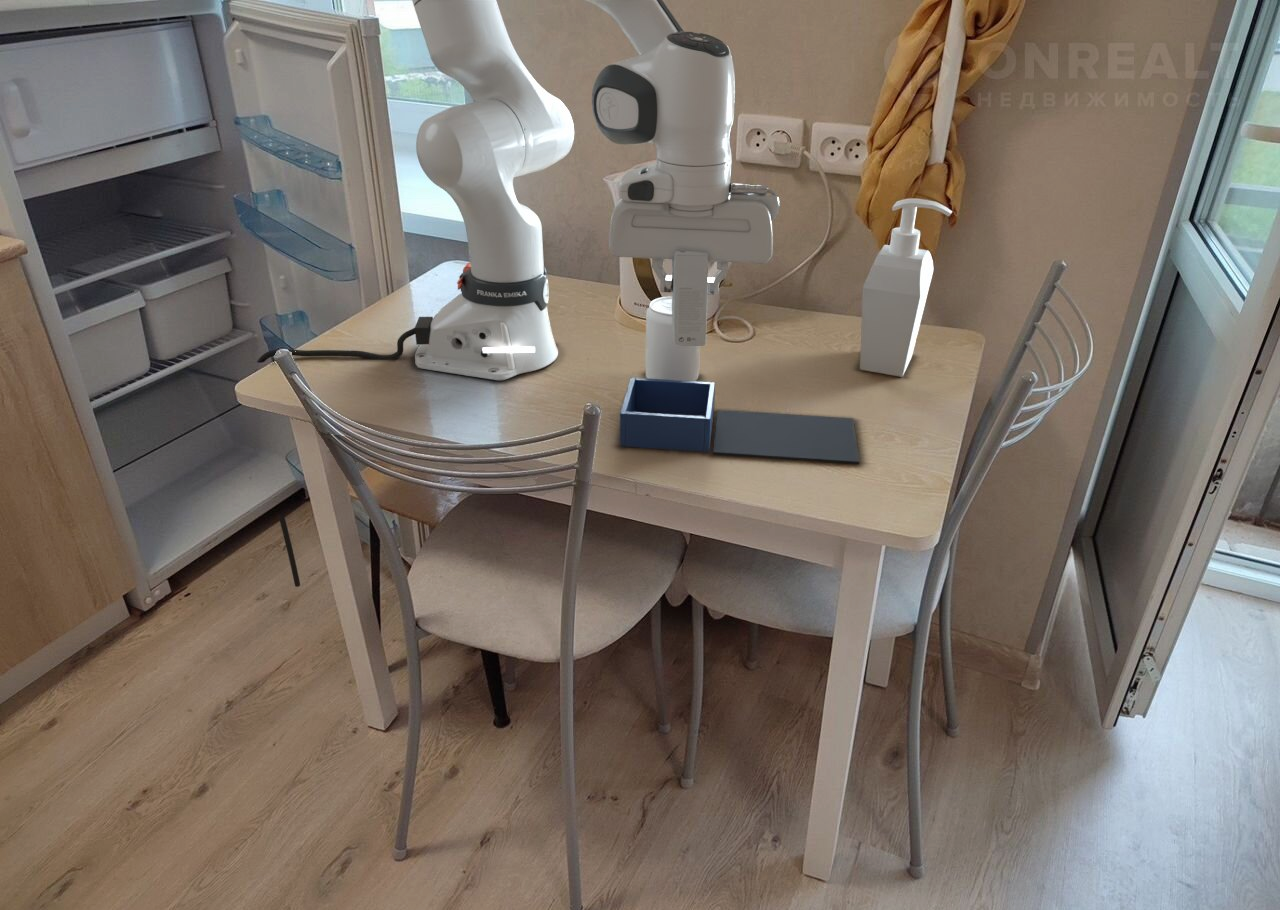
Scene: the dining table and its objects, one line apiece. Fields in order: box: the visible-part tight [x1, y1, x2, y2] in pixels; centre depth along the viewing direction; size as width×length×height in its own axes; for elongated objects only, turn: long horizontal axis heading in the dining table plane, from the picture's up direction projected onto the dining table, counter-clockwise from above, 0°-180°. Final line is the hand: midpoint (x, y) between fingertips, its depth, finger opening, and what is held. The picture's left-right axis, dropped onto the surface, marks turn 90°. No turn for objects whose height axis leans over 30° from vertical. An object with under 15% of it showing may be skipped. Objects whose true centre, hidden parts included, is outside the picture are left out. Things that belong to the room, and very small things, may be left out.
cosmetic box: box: [671, 251, 709, 347], centre depth 119 cm, size 6×4×12 cm
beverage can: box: [645, 295, 701, 381], centre depth 140 cm, size 8×8×12 cm
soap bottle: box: [859, 197, 953, 378], centre depth 142 cm, size 12×10×26 cm
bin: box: [619, 377, 716, 453], centre depth 128 cm, size 12×11×5 cm
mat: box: [712, 409, 860, 465], centre depth 128 cm, size 19×12×1 cm, turn 83°
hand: (689, 292), depth 119 cm, fingers closed on cosmetic box, 4 cm apart
